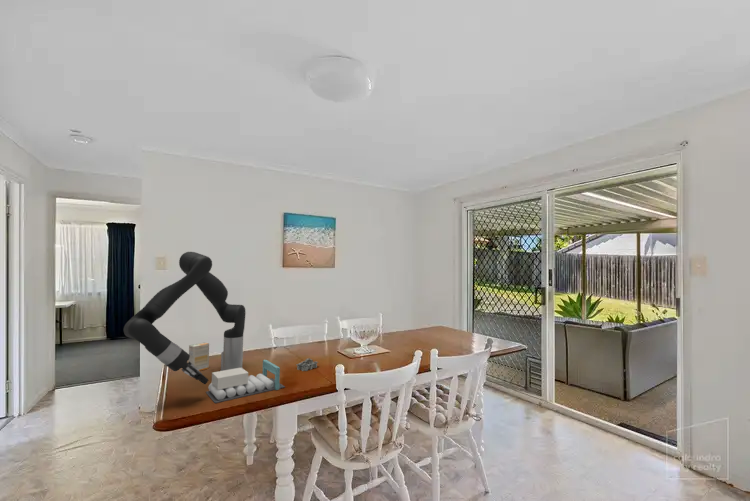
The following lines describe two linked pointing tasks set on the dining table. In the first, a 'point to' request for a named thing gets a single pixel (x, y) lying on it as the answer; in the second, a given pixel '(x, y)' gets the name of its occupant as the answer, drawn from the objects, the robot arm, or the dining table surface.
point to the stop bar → (272, 371)
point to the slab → (229, 378)
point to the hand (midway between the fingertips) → (206, 381)
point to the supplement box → (199, 355)
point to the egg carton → (307, 365)
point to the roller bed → (243, 389)
